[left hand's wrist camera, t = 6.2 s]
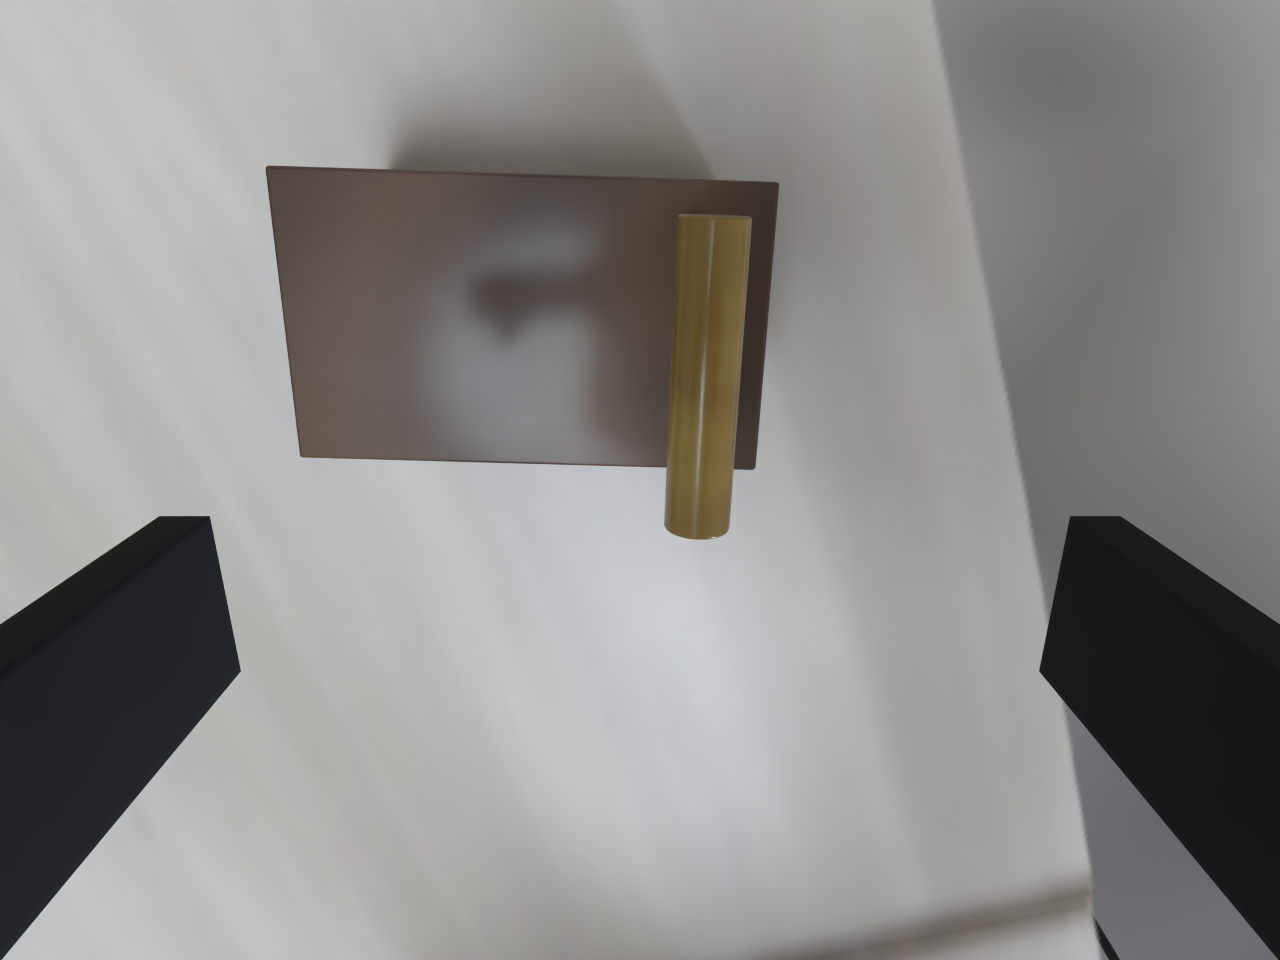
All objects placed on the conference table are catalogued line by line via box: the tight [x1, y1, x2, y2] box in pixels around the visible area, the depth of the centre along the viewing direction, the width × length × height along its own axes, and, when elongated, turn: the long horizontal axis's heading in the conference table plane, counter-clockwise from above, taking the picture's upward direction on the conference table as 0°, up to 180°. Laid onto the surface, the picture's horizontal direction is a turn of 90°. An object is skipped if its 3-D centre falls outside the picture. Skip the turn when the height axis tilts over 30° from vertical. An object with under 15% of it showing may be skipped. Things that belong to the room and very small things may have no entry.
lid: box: [266, 166, 779, 540], centre depth 22 cm, size 15×9×9 cm, turn 88°
